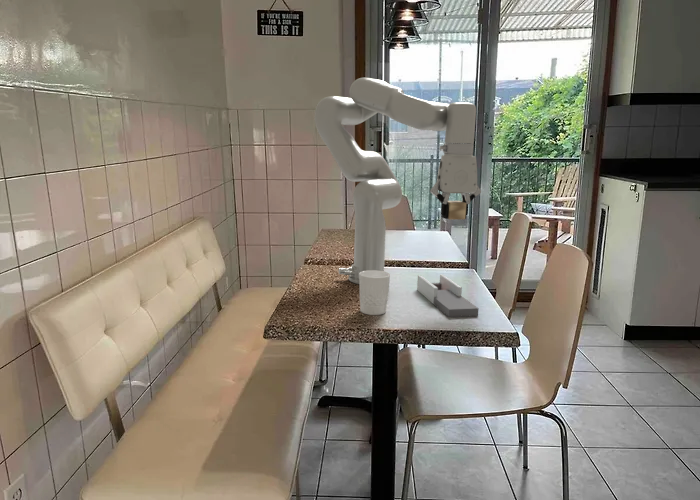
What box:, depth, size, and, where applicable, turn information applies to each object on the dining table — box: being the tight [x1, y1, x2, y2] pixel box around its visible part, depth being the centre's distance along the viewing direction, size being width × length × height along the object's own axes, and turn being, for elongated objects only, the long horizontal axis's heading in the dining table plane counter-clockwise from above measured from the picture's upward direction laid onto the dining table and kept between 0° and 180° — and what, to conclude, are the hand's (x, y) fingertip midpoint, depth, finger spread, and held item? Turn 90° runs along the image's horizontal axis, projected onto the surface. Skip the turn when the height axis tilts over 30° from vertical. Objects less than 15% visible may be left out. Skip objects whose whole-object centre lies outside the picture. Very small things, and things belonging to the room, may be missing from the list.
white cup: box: [358, 270, 391, 316], centre depth 138 cm, size 8×8×10 cm
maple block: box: [447, 200, 467, 221], centre depth 147 cm, size 4×4×4 cm
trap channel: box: [416, 274, 479, 318], centre depth 149 cm, size 8×25×4 cm, turn 12°
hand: (453, 217), depth 147 cm, fingers closed on maple block, 4 cm apart
